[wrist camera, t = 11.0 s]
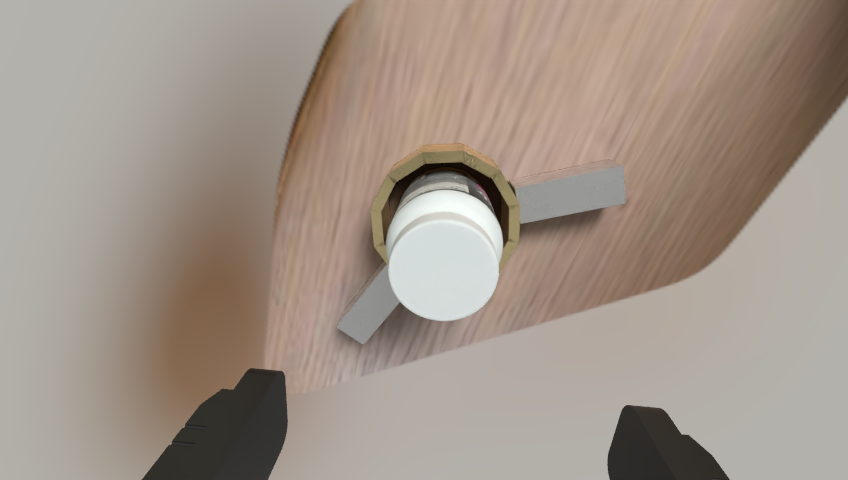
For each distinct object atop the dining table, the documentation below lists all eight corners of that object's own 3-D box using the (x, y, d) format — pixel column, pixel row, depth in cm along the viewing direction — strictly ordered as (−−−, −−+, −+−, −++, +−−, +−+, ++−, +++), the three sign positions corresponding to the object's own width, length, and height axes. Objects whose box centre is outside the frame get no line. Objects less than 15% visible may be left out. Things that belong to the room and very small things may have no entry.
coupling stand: (558, 57, 23) (575, 52, 20) (622, 187, 25) (646, 201, 22) (284, 235, 27) (265, 253, 24) (360, 331, 30) (351, 359, 27)
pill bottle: (495, 241, 27) (522, 321, 17) (411, 257, 27) (394, 343, 18) (480, 155, 25) (501, 195, 16) (390, 175, 26) (359, 224, 16)
